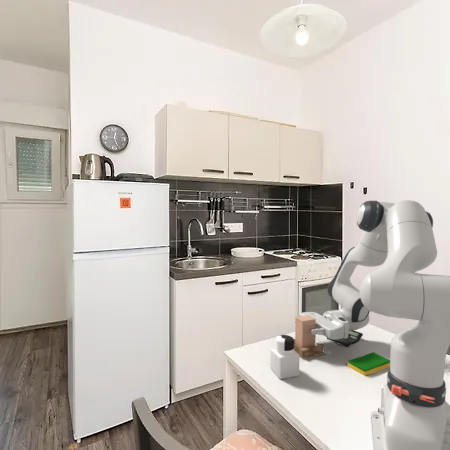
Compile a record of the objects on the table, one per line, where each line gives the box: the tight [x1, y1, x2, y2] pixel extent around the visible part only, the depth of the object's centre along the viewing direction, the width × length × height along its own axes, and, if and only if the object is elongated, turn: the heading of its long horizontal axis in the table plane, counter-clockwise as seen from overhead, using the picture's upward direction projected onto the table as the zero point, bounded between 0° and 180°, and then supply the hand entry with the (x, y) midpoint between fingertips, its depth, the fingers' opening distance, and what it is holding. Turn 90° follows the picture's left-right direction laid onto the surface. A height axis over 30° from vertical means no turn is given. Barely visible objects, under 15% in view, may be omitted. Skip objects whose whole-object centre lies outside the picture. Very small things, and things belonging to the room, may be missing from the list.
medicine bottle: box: [269, 334, 301, 380], centre depth 101 cm, size 7×7×12 cm
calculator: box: [326, 330, 363, 348], centre depth 127 cm, size 9×12×3 cm
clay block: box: [294, 315, 317, 348], centre depth 117 cm, size 6×4×12 cm
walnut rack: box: [293, 338, 326, 360], centre depth 117 cm, size 10×11×3 cm
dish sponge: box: [347, 351, 390, 377], centre depth 106 cm, size 7×14×2 cm, turn 117°
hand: (303, 327), depth 116 cm, fingers open, 8 cm apart
